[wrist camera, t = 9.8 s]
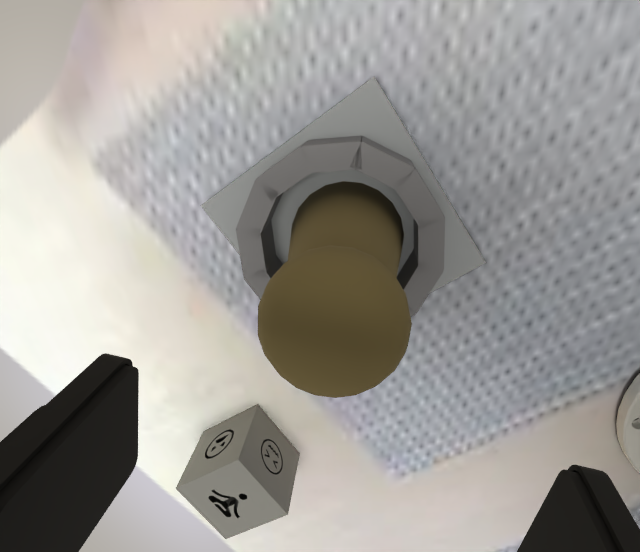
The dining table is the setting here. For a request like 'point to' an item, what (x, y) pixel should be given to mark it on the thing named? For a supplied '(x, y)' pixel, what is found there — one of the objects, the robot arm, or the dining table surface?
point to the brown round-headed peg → (338, 294)
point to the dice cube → (241, 473)
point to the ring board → (352, 166)
